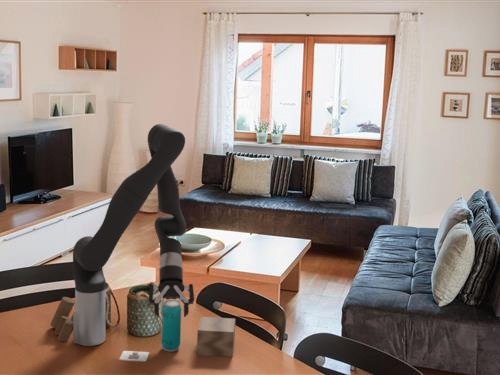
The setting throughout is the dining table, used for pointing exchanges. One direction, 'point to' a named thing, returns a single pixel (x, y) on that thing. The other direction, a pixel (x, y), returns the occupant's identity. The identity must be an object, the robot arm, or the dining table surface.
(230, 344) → the walnut base brick
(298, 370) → the dining table surface
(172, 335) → the beverage can
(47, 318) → the dining table surface
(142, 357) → the tower plan card
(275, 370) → the dining table surface
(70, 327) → the wooden block set
